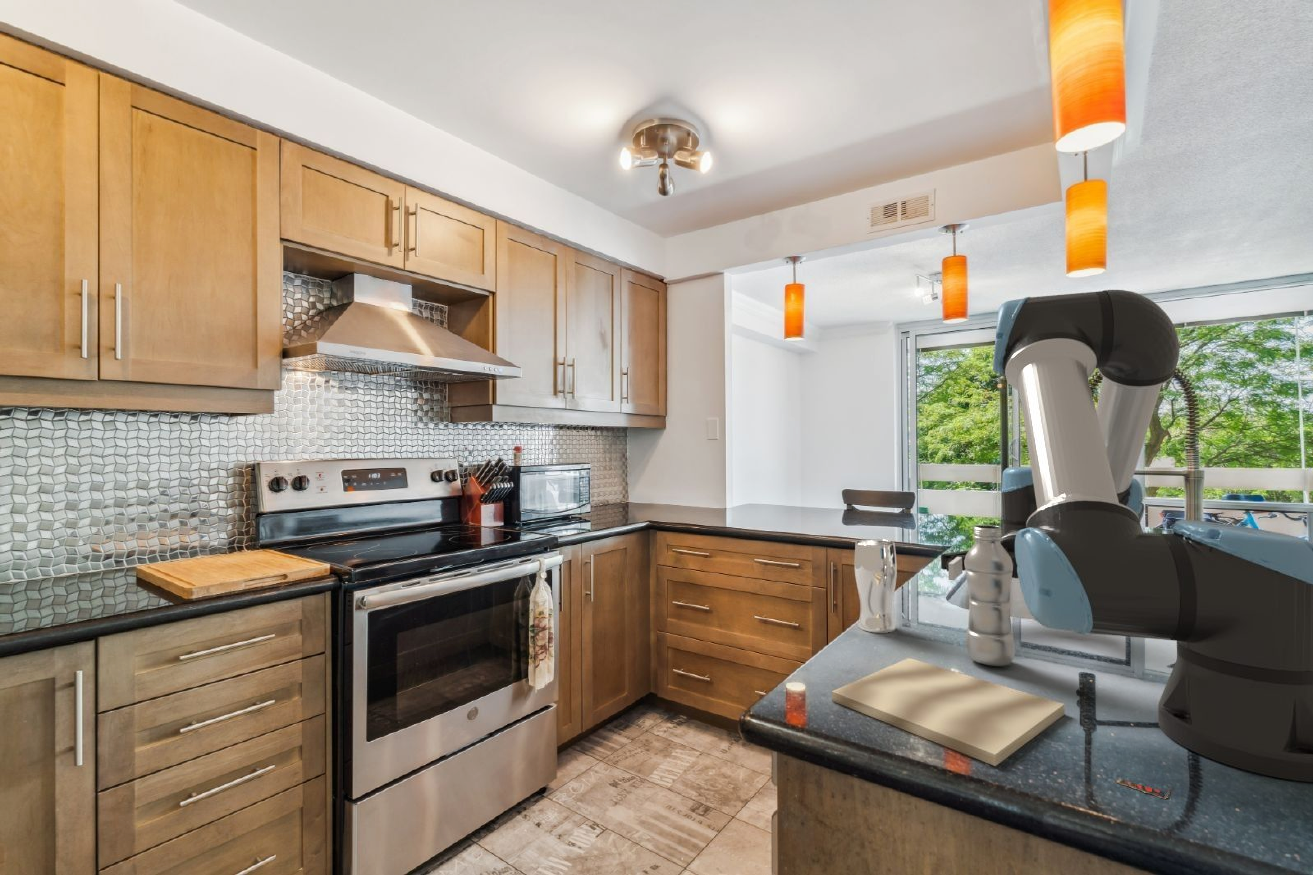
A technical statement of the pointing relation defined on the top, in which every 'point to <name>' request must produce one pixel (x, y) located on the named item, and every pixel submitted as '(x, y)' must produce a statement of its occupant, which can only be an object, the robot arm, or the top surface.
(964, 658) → the top surface
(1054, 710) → the birch board
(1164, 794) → the red brown flat piece
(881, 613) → the beer glass
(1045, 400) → the robot arm
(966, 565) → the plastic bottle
